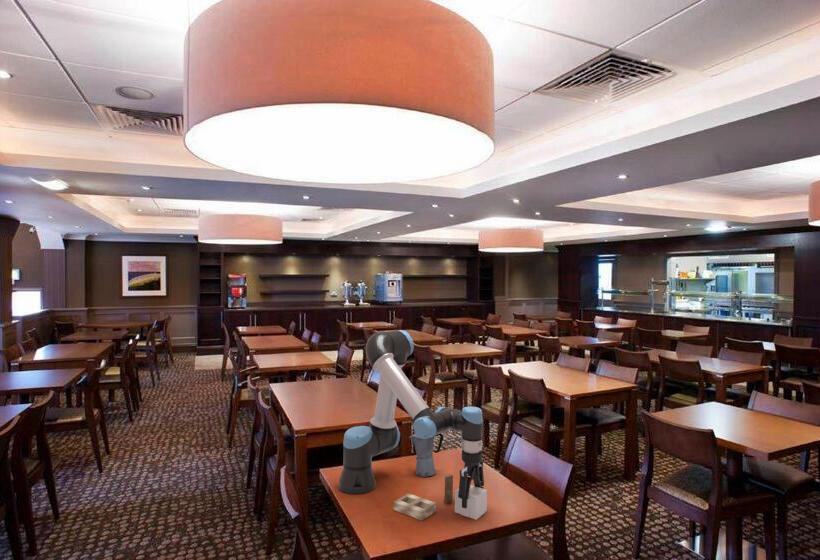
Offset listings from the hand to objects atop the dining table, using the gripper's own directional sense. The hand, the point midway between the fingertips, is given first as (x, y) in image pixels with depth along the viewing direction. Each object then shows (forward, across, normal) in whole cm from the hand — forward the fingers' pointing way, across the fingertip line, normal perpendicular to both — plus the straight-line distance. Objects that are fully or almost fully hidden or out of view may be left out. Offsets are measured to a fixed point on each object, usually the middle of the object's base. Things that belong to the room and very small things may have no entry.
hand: (471, 511), depth 178 cm
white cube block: (0, 0, 0) cm, 0 cm away
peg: (0, +2, +11) cm, 11 cm away
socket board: (0, -12, +17) cm, 21 cm away
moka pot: (0, +19, +34) cm, 39 cm away
